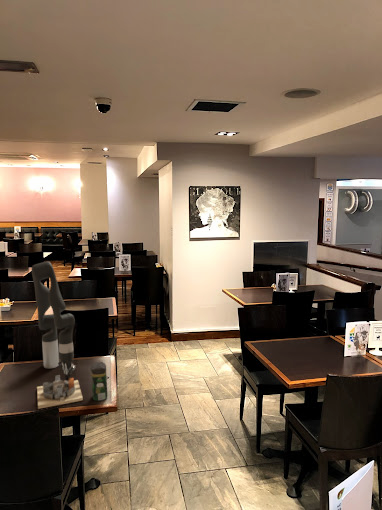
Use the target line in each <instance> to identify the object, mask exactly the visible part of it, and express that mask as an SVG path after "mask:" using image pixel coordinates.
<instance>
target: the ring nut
mask: <svg viewBox="0 0 382 510" xmlns="http://www.w3.org/2000/svg"><path fill="white" fill-rule="evenodd" d="M54 376H55V381H57V380H61V375H60V374H58V375H54ZM63 381H64V382H65V388H67V389H66V390H64V391H62V385H58V386H57V392H52V391H51V390H53V382H49V381H46V382H43V383H42V386H43V395H44V397H45V398H48V399H52V400H53V399H54V398H55V399H60V398H61V397H64V398H66V397H68V396H70V395H71V394H72V393H74V391H75V386H74V381H75V380H74V377H71V378H69V379H68V381H66V380H63Z"/></svg>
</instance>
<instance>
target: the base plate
mask: <svg viewBox="0 0 382 510" xmlns="http://www.w3.org/2000/svg"><path fill="white" fill-rule="evenodd" d="M52 383H53V390H51V391H52V392H57V386H58V385H62V391H64V390H66V389H67V388H65V382H64V380H63V379H60V380H57V381H56V380H54V381H52ZM74 386H75V391H74V393H72V394H71V395H70V396H68V397H66V398H64V397H61V398H60V399H55V398H54V399H53V400H52V399H48V398H45V397H44V395H43V385H40V386H36V390H37V391H36V392H37V409H38V410H39V409H43V408H50V407H54V406H61V405H65V404H71V403H75V402H76V403H77V402H82V401H83V399H84V398H83V394H82V390H81V388H80V387H81V386H80V382H79V380H78V379H76V380H74Z"/></svg>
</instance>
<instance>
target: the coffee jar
mask: <svg viewBox="0 0 382 510" xmlns="http://www.w3.org/2000/svg"><path fill="white" fill-rule="evenodd" d="M90 373H91V375H90V377H91V391H92V393H91V394H92V400H94V401H97V402H100V401H101V402H102V401H104V400H106V399H108V380H107V379H108V377H107V375H108V374H107V365H106V363H105V362H103V361H96V362H94V363H93V364H91V368H90Z"/></svg>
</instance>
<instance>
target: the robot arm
mask: <svg viewBox="0 0 382 510" xmlns="http://www.w3.org/2000/svg"><path fill="white" fill-rule="evenodd" d="M31 275H32V276H31V277H32V280H33V284H34V285H33V286H34V293H35V294H34V295H35V303H36V307H37V308H36V309H37V322H38V323H37V325H38V328H39V330H41V331H48V332H47V333H45V334H43V335H42V336H41V342H42V343H41V344H42V345H41V346H42V360H43V368H45V369H54V368H57V367H59V368H60V370H61V372H62V373H63V374H64V378H65V380H66V381H68V379H69V378H72V377H71V374H73V373H74V372H75V370H76V368H77V365H76V364H75V365H74V361H73V359H74V357H75V353H74V343H73V332H74V328H75V322H76V319H75V315H73V314H72V313H64V314H61V313H62V312H63V311H65V310H66V308H67V306H66V303H65V301H64V299H63V297H62V294H61V290H60V287H59V284H58V279H57V277H56V272H55V270H54V267H53V264H52V263H51V262H50V261H48V260H47V261H42V262H39V263H35V264H33V265H32V267H31ZM46 279H49V280H50V288H49V287H47V286H46V285H44V284H43V283H42V282H41V281H42V280H46ZM50 308H51V309H52V314H46V313H47V311H48V310H49V309H50ZM61 329H63V330H61ZM49 330H50V331H49ZM58 330H61V331H60V332H59V333H58Z"/></svg>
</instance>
